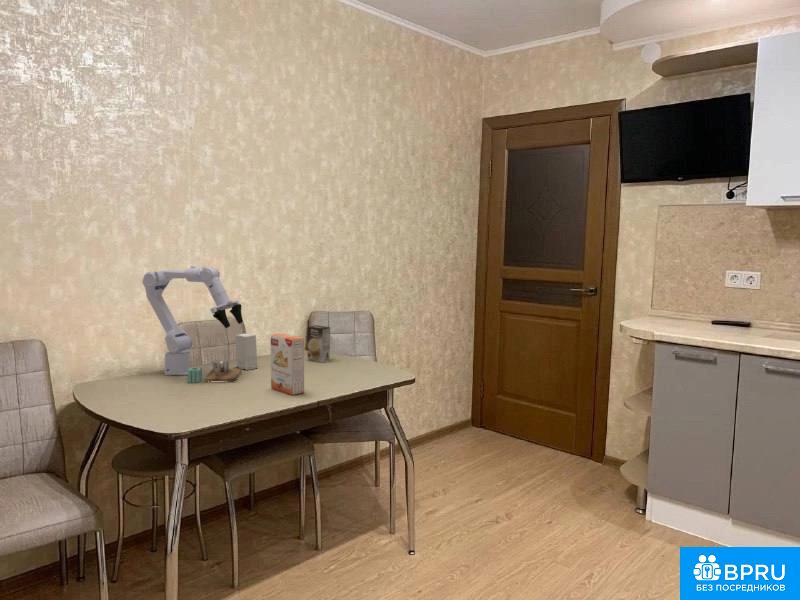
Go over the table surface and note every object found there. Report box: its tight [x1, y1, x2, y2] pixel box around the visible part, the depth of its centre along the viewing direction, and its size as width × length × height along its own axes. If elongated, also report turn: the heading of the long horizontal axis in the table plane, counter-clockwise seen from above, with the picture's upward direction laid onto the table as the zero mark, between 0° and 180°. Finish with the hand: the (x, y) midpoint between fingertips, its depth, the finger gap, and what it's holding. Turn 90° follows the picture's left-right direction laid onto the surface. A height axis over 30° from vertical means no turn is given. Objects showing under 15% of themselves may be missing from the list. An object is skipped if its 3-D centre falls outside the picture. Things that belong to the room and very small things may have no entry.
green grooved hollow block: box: [187, 366, 203, 384], centre depth 247 cm, size 4×6×5 cm
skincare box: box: [235, 333, 258, 371], centre depth 273 cm, size 8×6×15 cm
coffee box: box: [306, 324, 331, 364], centre depth 291 cm, size 9×6×16 cm
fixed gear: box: [212, 358, 230, 372], centre depth 260 cm, size 6×6×5 cm
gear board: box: [203, 368, 243, 383], centre depth 255 cm, size 12×18×4 cm, turn 7°
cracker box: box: [270, 333, 305, 396], centre depth 234 cm, size 14×6×21 cm, turn 45°
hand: (234, 325), depth 252 cm, fingers open, 7 cm apart
